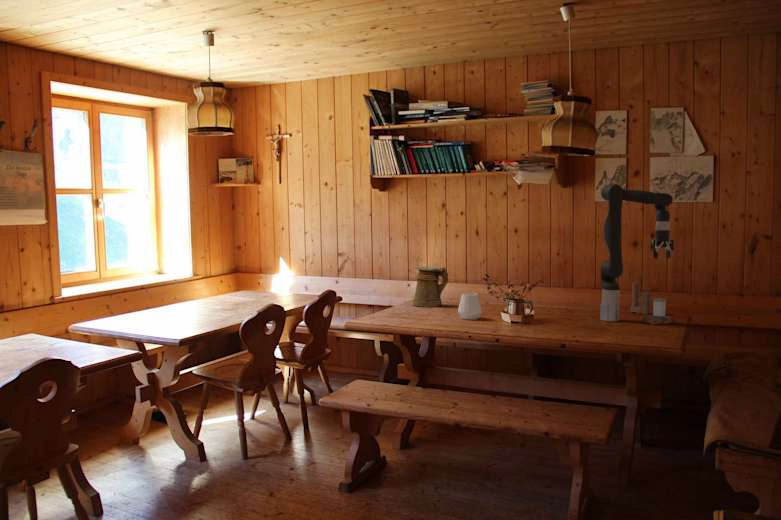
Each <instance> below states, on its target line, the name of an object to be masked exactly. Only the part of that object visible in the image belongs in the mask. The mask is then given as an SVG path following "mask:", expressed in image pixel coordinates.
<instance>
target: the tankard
mask: <svg viewBox="0 0 781 520" xmlns="http://www.w3.org/2000/svg"><path fill="white" fill-rule="evenodd" d="M416 269H417V270H418V273H417V274H416V279H417V281H416V284H415V293H414V298H413V299H412V306H415V307H421V308H422V307H423V308H424V307H425V308H437V307H440V306H441V305H442V304H443V303H442V299H441V296H442V293H443V291H444V290H445V288H446V286H447V284H448V281H449V274H448V271H447V270H446V267H431V266H417V267H416ZM440 277H441V278H440ZM440 279H442V280H441V282H440V283H439V280H440Z"/></svg>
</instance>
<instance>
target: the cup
mask: <svg viewBox="0 0 781 520" xmlns="http://www.w3.org/2000/svg"><path fill="white" fill-rule="evenodd" d="M478 295H479V294H478V293H474V292H473V293H472V292H470V293H469V292H466V293H462V294H461V297H460V301H459V305H458V307H457V309H458V310H457V313H458V314H459V316H460V318H461V319H462V320H464V321H465V320H466V321H468V320H469V321H472V320H478V319H479V317H480V316H481V314H482V307H481V302H480V300H479V299H480V298H479V296H478Z"/></svg>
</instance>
